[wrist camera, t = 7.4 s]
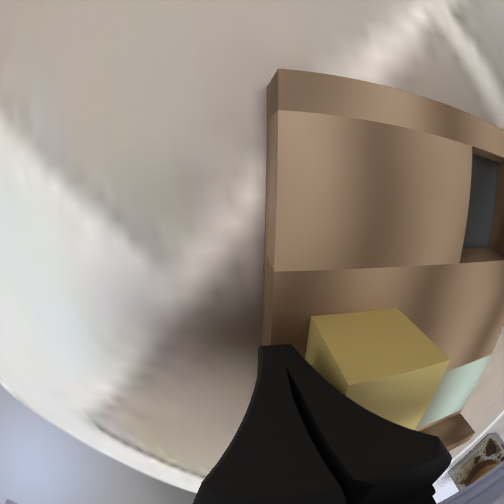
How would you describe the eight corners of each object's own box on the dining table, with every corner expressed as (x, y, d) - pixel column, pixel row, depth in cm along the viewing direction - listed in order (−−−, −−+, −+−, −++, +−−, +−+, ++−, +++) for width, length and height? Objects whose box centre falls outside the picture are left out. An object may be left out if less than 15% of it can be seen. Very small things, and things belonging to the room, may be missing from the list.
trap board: (507, 143, 12) (564, 150, 7) (441, 403, 18) (469, 440, 14) (267, 86, 10) (296, 41, 6) (257, 444, 17) (266, 503, 12)
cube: (396, 307, 11) (450, 359, 8) (376, 377, 12) (412, 433, 9) (310, 315, 11) (348, 384, 7) (300, 389, 12) (323, 458, 8)
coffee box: (487, 433, 25) (534, 497, 9) (497, 433, 26) (539, 489, 11) (445, 472, 27) (483, 537, 11) (460, 469, 28) (494, 526, 13)
